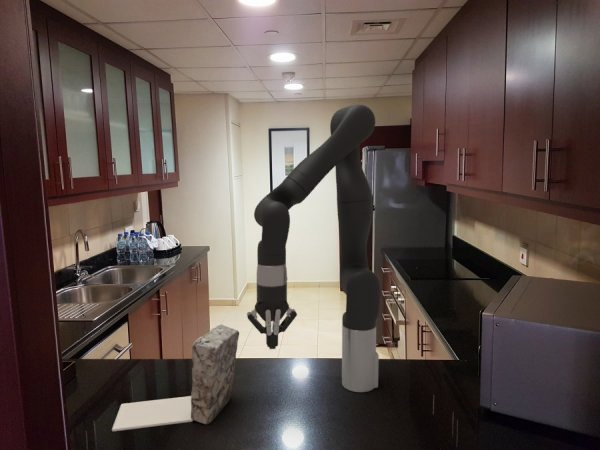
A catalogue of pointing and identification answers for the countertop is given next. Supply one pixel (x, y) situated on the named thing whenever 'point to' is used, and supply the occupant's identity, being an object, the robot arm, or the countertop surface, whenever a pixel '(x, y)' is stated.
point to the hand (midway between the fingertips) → (272, 347)
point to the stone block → (212, 372)
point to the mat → (153, 413)
